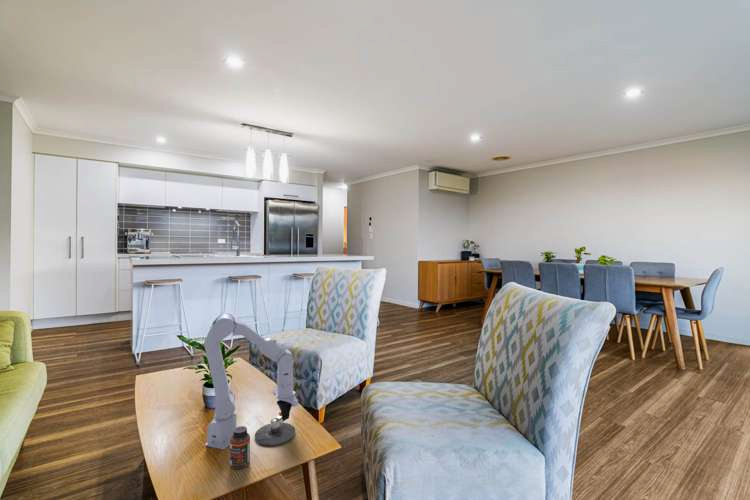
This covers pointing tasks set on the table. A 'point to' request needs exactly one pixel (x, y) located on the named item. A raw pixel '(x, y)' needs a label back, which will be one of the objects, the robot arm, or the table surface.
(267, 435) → the plate
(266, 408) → the table surface
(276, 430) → the crank
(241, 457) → the supplement bottle
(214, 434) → the robot arm
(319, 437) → the table surface
